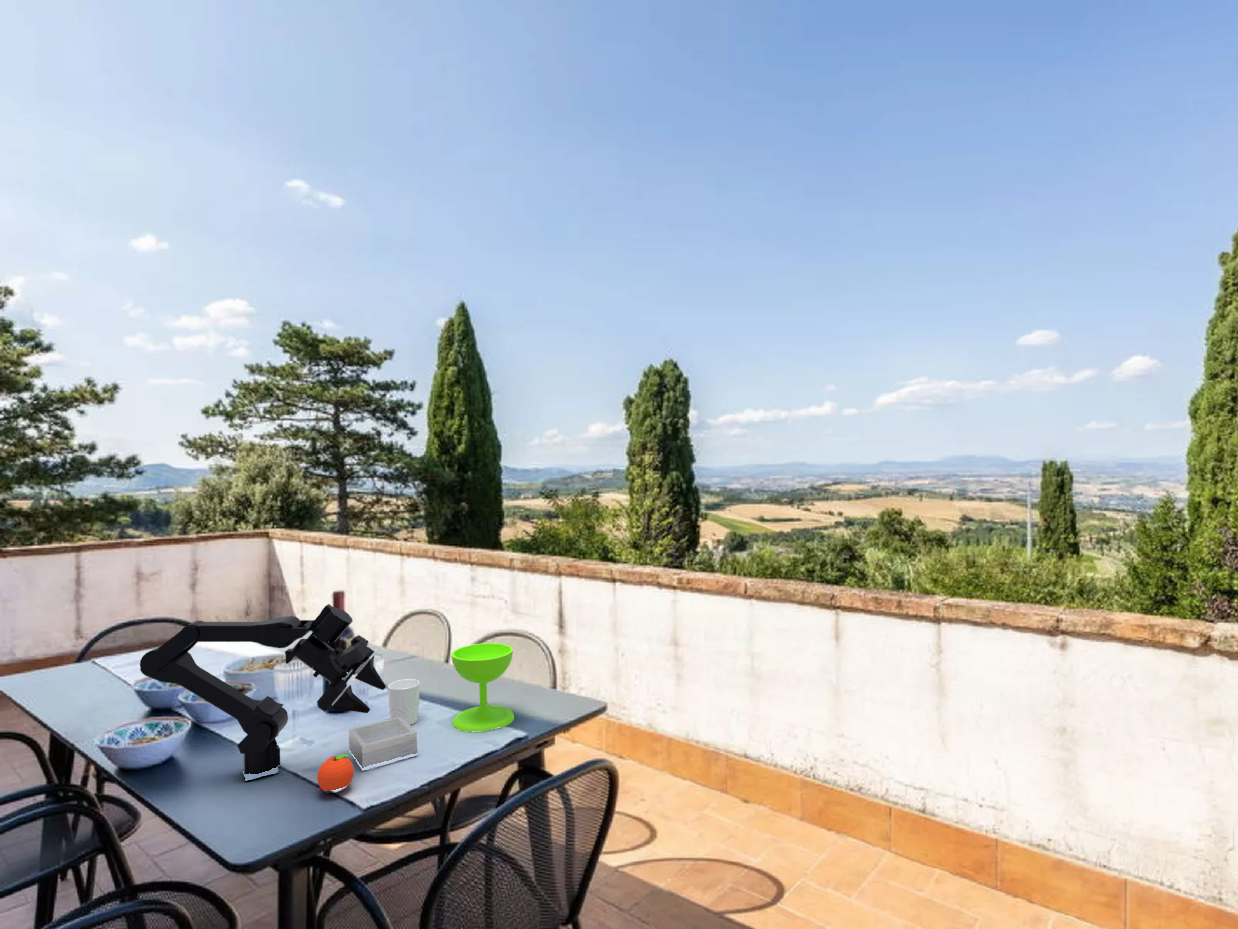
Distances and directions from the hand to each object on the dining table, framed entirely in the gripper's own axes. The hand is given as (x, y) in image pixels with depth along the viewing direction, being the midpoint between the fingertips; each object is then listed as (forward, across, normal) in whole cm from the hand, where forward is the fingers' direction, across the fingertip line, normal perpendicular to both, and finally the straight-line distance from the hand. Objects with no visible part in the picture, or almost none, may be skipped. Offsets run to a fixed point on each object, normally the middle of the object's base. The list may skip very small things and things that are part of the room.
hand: (377, 699), depth 141 cm
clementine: (+5, -15, +11) cm, 19 cm away
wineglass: (+26, +20, +1) cm, 33 cm away
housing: (+10, +1, +11) cm, 15 cm away
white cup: (+11, +19, +15) cm, 27 cm away
